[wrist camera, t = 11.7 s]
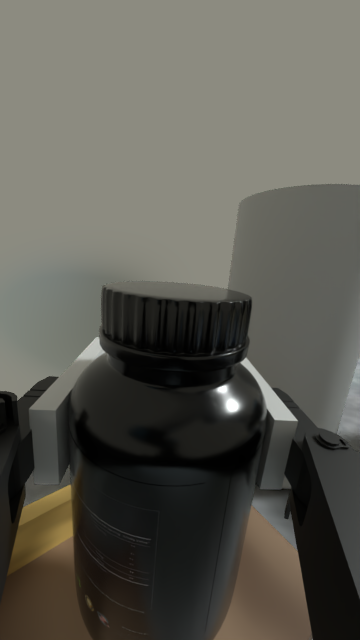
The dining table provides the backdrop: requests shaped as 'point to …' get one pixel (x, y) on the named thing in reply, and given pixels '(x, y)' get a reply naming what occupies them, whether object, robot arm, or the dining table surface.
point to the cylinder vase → (302, 292)
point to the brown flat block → (61, 598)
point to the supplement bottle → (164, 461)
